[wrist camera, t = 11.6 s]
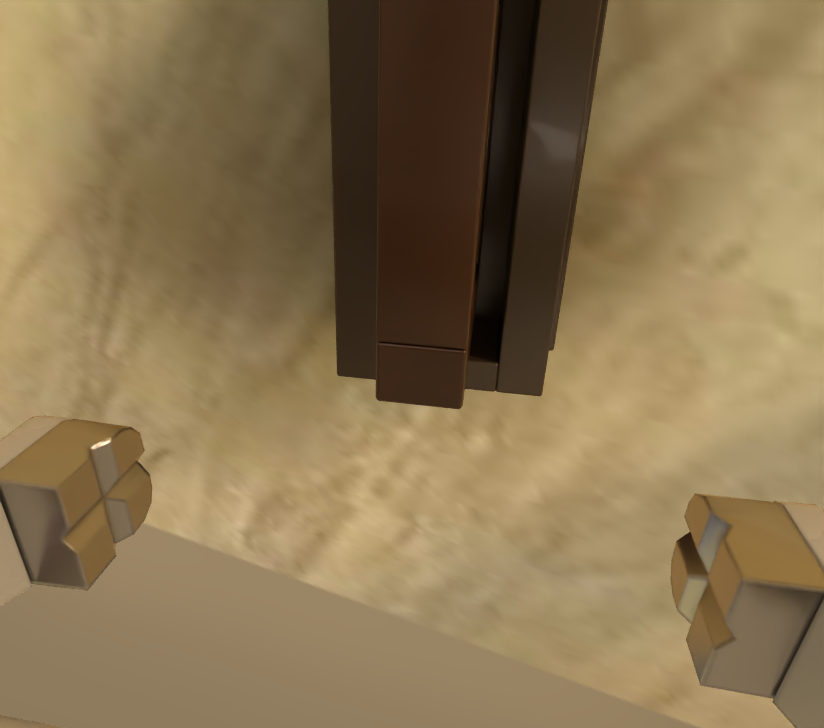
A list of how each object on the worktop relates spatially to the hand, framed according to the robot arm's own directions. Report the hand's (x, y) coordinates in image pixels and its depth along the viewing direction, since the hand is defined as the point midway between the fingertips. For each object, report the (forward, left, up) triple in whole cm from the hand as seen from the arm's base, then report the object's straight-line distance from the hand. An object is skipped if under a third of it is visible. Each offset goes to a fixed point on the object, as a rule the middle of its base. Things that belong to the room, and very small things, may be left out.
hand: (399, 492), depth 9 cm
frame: (-3, -2, -13) cm, 13 cm away
